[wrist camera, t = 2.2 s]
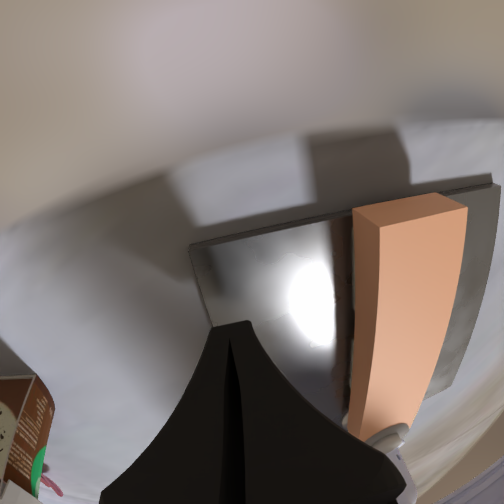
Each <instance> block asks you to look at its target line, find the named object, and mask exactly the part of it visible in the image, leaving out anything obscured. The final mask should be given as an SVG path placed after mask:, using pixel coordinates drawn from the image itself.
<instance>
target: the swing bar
mask: <svg viewBox="0 0 504 504" xmlns="http://www.w3.org/2000/svg"><path fill="white" fill-rule="evenodd" d="M467 212H468V207H467V206H465V205H463V204H460V203H458V202H456V201H454V200H452V199H449V198H447V197H445V196H443V195H440V194H438V193H436V192H434V193H429V194H423V195H418V196H413V197H407V198H402V199H397V200H392V201H386V202H381V203H376V204H371V205H366V206H361V207H356V208H352V213H353V229H354V251H355V332H354V354H353V369H352V382H351V394H350V404H349V413H348V421H347V429H348V431H349V433H350V434H352V435H353V436H355V437H356V438H358V439H360V440H361V441H363V442H365V443H366V444H368V445H370V446H372V447H373V448H375V449H377V450H379V451H381V452H383V453H384V454H387V453H389V452H391V451H393V450H394V449H396V448H397V447H398V446H399V445H400V444H401V443H402V440H401V439H403V438H404V437H405V436H406V434H407V433H408V431H409V428H410V427H411V425H412V423H413V421H414V418H415V416H416V414H417V412H418V409H419V407H420V405H421V403H422V400H423V398H424V395H425V393H426V390H427V388H428V385H429V383H430V380H431V377H432V375H433V372H434V369H435V366H436V363H437V360H438V357H439V354H440V351H441V348H442V345H443V341H444V338H445V335H446V331H447V328H448V324H449V320H450V316H451V312H452V308H453V304H454V299H455V295H456V290H457V285H458V280H459V275H460V269H461V263H462V257H463V250H464V242H465V233H466V224H467Z"/></svg>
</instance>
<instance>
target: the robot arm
mask: <svg viewBox="0 0 504 504" xmlns="http://www.w3.org/2000/svg"><path fill="white" fill-rule="evenodd" d="M401 440H402V439H401ZM404 443H405V441H404V440H402V443H401V444H400V445H399V446H398V447H397V448H396V449H394V450H393V451H391V452H389V453H387V454H384V453H383V452H381V451H379V450H377V449H375V448H373V447H372V446H370V445H368V444H366V443H365V442H363V441H361V440H360V439H358V438H356V437H355V436H353V435H352V434H350V433H349V432H347V431H346V430H344V429H343V428H341V427H340V426H338V425H337V424H336V423H334V422H333V421H332V420H331V419H329V418H328V417H327V416H325V415H324V414H323V413H322V412H320V411H319V410H318V409H317V408H315V407H314V406H313V405H312V404H311V403H310V402H309V401H308V400H307V399H306V398H304V397H303V396H302V395H301V394H300V393H299V392H298V391H297V390H296V389H295V388H294V386H293V385H292V384H291V383H290V382H289V381H288V380H287V379H286V378H285V376H284V375H283V374H282V373H281V372H280V370H279V369H278V368H277V367H276V365H275V364H274V363H273V361H272V360H271V358H270V357H269V356H268V354H267V353H266V351H265V350H264V348H263V347H262V345H261V343H260V341H259V340H258V338H257V336H256V334H255V332H254V329H253V327H252V323H251V321H249V320H244V321H240V322H235V323H230V324H225V325H220V326H216V327H212V328H211V330H210V332H209V335H208V338H207V341H206V344H205V347H204V350H203V352H202V355H201V358H200V360H199V362H198V365H197V367H196V369H195V372H194V374H193V376H192V378H191V380H190V382H189V384H188V386H187V388H186V390H185V392H184V394H183V396H182V398H181V399H180V401H179V403H178V405H177V406H176V408H175V410H174V411H173V413H172V414H171V416H170V417H169V419H168V421H167V422H166V423H165V425H164V426H163V428H162V429H161V430H160V432H159V433H158V434H157V436H156V437H155V438H154V440H153V441H152V442H151V443H150V445H149V446H148V447H147V448H146V449H145V450H144V452H143V453H142V454H141V455H140V456H139V457H138V458H137V459H136V460H135V461H134V463H133V464H132V465H131V466H130V467H129V468H128V469H127V470H126V471H125V472H124V473H122V474H121V475H120V476H119V477H118V478H117V479H116V480H115V481H113V482H112V483H111V484H110V485H109V486H108V487H106V488H105V489H104V490H103V491H101V495H100V500H99V504H415V503H416V500H417V489H416V486H415V484H414V482H413V479H412V477H411V475H410V473H409V471H408V469H407V466H406V464H405V462H404V460H403V458H402V456H401V454H400V452H399V449H398V448H399V447H401V446H402V445H403V444H404ZM433 504H504V456H502V457H501V458H500V459H499V460H497V461H496V462H495V463H494V464H492V465H491V466H490V467H489V468H487V469H486V470H484V471H483V472H482V473H480V474H479V475H478V476H476V477H475V478H473V479H472V480H470V481H469V482H468V483H466V484H464V485H463V486H461V487H460V488H458V489H457V490H455V491H454V492H452V493H450V494H449V495H447V496H445V497H444V498H442V499H440V500H438V501H437V502H435V503H433Z"/></svg>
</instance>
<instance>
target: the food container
mask: <svg viewBox="0 0 504 504" xmlns="http://www.w3.org/2000/svg"><path fill="white" fill-rule="evenodd" d="M54 411H55V405H54V401H53V398H52V396H51V394H50V392H49V391H48V389H47V388H46V386H45V384H44V383H43V382H42V380H41V379H40V378H39V377H38V375H37V374H32V375H16V376H0V504H43V503H41V502H40V501H39V500H38V494H39V486H40V479H41V473H42V466H43V461H44V455H45V450H46V445H47V441H48V436H49V432H50V428H51V423H52V419H53V415H54Z"/></svg>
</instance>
